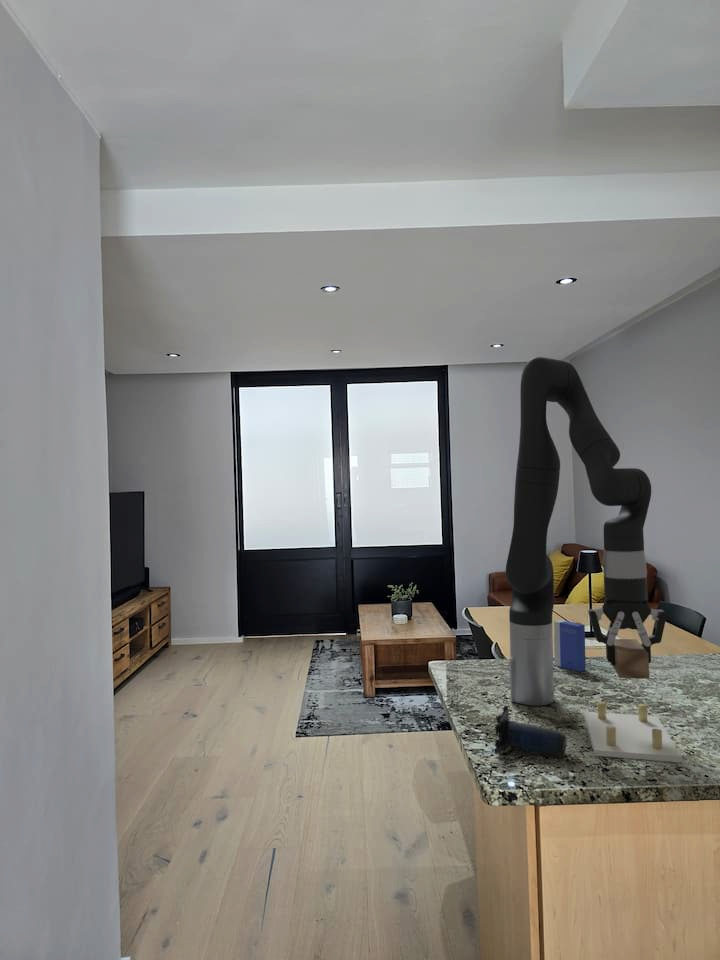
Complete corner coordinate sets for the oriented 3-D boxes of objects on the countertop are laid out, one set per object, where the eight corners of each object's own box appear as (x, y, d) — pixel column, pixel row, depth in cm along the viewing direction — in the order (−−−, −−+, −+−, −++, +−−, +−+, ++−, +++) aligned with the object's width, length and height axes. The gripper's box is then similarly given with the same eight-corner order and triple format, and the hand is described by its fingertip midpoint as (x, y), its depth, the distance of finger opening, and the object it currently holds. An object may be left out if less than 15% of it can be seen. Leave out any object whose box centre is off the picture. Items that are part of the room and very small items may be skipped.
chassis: (594, 755, 114) (594, 732, 114) (583, 716, 134) (583, 696, 134) (681, 762, 111) (681, 738, 111) (657, 721, 130) (657, 701, 130)
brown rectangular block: (619, 677, 118) (618, 652, 118) (610, 661, 128) (609, 638, 129) (649, 678, 117) (648, 653, 117) (637, 662, 127) (636, 639, 127)
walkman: (585, 670, 167) (584, 623, 167) (578, 672, 166) (577, 624, 166) (561, 663, 174) (560, 618, 174) (554, 665, 172) (553, 619, 172)
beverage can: (493, 762, 116) (563, 776, 111) (492, 722, 114) (564, 734, 110) (502, 734, 124) (568, 746, 119) (502, 697, 123) (569, 708, 118)
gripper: (661, 571, 125) (665, 660, 125) (582, 571, 128) (586, 659, 128) (670, 576, 118) (674, 671, 117) (587, 577, 121) (590, 669, 121)
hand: (628, 664), depth 123 cm, fingers closed on brown rectangular block, 5 cm apart
